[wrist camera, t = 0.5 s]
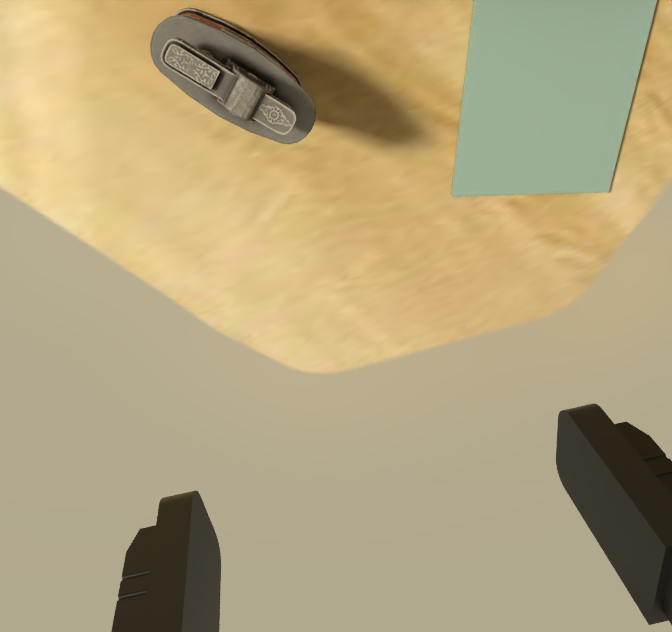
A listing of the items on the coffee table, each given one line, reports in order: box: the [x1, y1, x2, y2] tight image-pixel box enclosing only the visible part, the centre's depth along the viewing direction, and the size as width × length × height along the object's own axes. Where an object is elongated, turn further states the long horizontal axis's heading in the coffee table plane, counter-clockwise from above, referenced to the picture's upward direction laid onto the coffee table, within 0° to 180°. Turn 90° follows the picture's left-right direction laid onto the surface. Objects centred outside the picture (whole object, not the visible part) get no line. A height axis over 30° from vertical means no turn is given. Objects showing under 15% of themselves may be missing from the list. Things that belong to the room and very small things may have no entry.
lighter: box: [150, 8, 316, 144], centre depth 29 cm, size 8×3×10 cm, turn 58°
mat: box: [451, 0, 657, 196], centre depth 37 cm, size 13×11×1 cm
